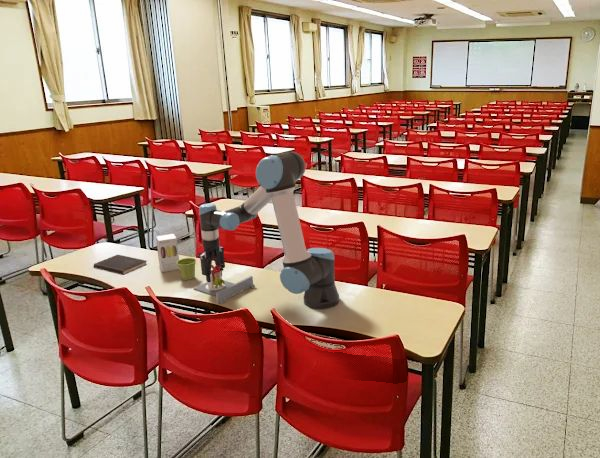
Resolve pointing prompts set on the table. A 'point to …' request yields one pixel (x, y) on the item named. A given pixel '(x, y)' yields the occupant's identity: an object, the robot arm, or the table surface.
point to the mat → (213, 291)
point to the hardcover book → (120, 264)
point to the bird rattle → (216, 276)
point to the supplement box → (167, 252)
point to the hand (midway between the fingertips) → (215, 285)
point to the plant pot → (187, 268)
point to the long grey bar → (234, 289)
